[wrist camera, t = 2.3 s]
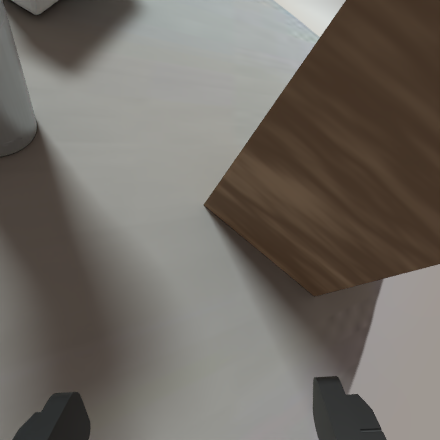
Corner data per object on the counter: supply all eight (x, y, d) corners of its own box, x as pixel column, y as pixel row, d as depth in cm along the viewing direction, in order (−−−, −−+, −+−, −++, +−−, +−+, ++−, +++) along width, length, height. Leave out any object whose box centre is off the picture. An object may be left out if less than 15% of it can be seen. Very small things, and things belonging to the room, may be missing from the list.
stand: (314, 296, 41) (736, 186, 14) (203, 204, 41) (414, -98, 13) (346, 227, 49) (666, 65, 21) (252, 149, 48) (454, -122, 21)
